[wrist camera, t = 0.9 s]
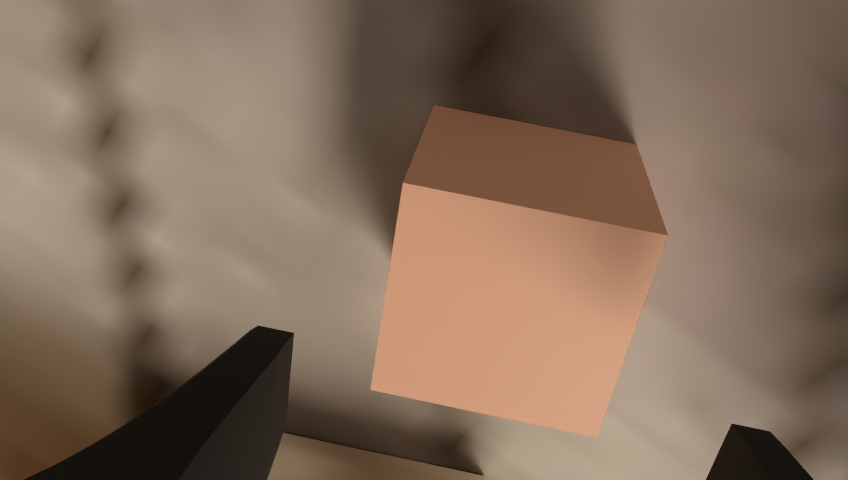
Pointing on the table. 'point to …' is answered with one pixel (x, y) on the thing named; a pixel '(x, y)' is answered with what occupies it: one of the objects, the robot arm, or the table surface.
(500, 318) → the cube
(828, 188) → the table surface
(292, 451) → the base
